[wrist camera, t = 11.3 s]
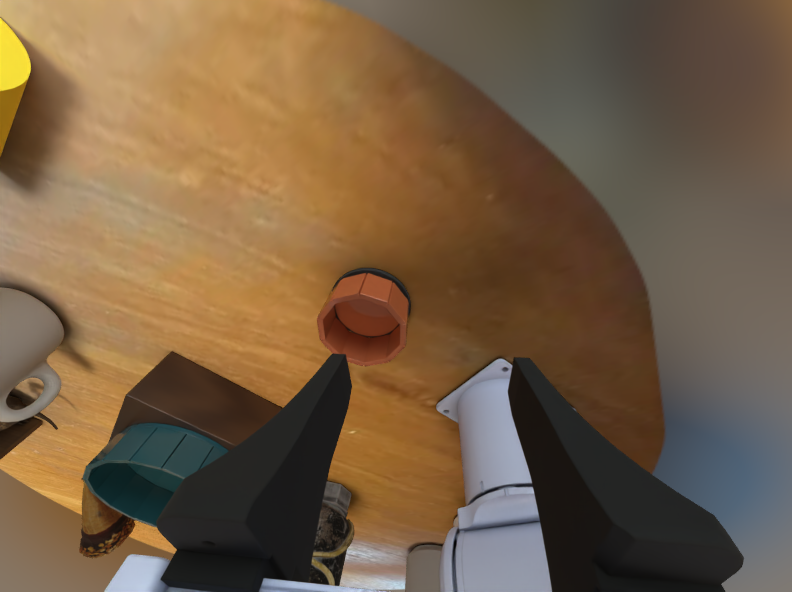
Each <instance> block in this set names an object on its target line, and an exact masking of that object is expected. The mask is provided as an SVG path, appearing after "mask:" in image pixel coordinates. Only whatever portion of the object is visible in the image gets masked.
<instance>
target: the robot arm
mask: <svg viewBox="0 0 792 592" xmlns="http://www.w3.org/2000/svg"><path fill="white" fill-rule="evenodd" d="M504 367H507V368H504ZM351 389H352V384H351V379H350V373H349V368H348V363H347V357H346V354H332V355H331V356H330V357H329V358H328V359H327V360H326V362H325V363H324V364H323V365H322V367H321V368H320V369H319V370H318V371H317V372H316V374H315V375H314V376H313V377H312V378H311V379H310V381H309V382H308V383H307V384H306V385H305V386H304V387H303V388H302V389H301V391H300V392H299V393H298V394H297V395H296V396H295V397H294V398H293V399H292V400H291V401H290V402H289V403H288V404H287V405H286V406H285V407H284V408H283V409H282V410H281V411H280V412H278V413H277V414H276V415H275V416H274V417H273V418H272V419H271V420H269V421H268V422H267V423H266V424H265V425H263V426H262V427H261V428H260V429H259V430H257V431H256V432H255V433H253V434H252V435H251V436H249V437H248V438H247V439H246V440H244V441H243V442H242V443H240V444H239V445H237V446H236V447H234V448H233V449H231V450H230V451H228V452H227V453H225V454H224V455H222V456H221V457H219V458H218V459H216V460H215V461H213V462H211V463H210V464H208V465H206V466H205V467H203V468H201V469H200V470H198V471H196V472H195V473H193V474H191V475H189V476H188V477H186V478H184V480H183V481H182V483H181V484H180V485H179V487H178V488H177V489H176V491H175V493H174V494H173V496H172V497H171V499H170V500H169V502H168V503H167V505H166V506H165V508H164V509H163V511H162V513H161V514H160V516H159V517H158V519H157V521H156V523H157V528H158V530H159V531H160V533H161V534H162V535H163V536H164V537H165V538H166V539H167V540H168V541H169V542H170V543H171V544H172V545H173V546H174V547H175V548H176V549H177V551H176V553H175V554H174V556H173V558H172V560H171V561H170V560H168V559H165V558H161V557H154V556H144V555H135V554H131V555H129V556H128V557H127V558H126V560H125V561H124V563H123V564H122V566H121V567H120V569H119V570H118V572H117V573H116V575H115V576H114V577H113V579H112V580H111V582H110V583H109V585H108V587H107V588H106V589H105V591H104V592H387V591H380V590H370V589H361V588H351V587H342V586H333V585H323V584H314V583H309V576H310V570H311V563H312V557H313V551H314V545H315V539H316V534H317V528H318V523H319V517H320V512H321V507H322V502H323V497H324V492H325V487H326V482H327V478H328V473H329V469H330V465H331V461H332V457H333V454H334V451H335V448H336V445H337V441H338V438H339V435H340V432H341V429H342V426H343V422H344V419H345V416H346V413H347V409H348V405H349V400H350V395H351ZM436 409H437V411H439V412H440V413H442V414H444V415H445V416H447V417H449V418H450V419H452V420H454V421H456V422H457V423H459V433H460V444H461V456H462V467H463V478H464V489H465V501H466V506H465V507H462V508H458V509H457V510H458V525H459V526H457V527H453V528H451V529H450V530H449V532H448V534H447V536H446V539H445V542H444V544H443V547H442V551H441V556H440V567H439V580H440V592H725V590H724V588H723V587H722V585H721V584H722V583H723V582H724V581H726V580H727V579H728V578H729V577H731V576H732V575H733V574H735V573H736V572H737V571H738V570H739V569H740V568H741V567H742V565H743V560H744V557H743V556H742V554H741V553H740V551H739V550H738V548H737V547H736V545H735V544H734V542H733V541H732V539H731V538H730V536H729V535H728V533H727V532H726V530H725V529H724V528H723V526H722V525H721V524H720V523H719V521H718V520H717V519H716V517H715V516H714V515H713V514H711V513H709V512H708V511H706V510H705V509H703V508H702V507H700V506H698V505H697V504H695V503H694V502H692V501H691V500H689V499H687V498H685V497H684V496H682V495H681V494H679V493H677V492H676V491H675V490H673V489H672V488H670V487H669V486H667V485H666V484H664V483H663V482H662V481H660V480H659V479H657V478H656V477H654V476H653V475H651V474H650V473H649V472H647V471H646V470H645V469H643V468H642V467H640V466H639V465H638V464H637V463H635V462H634V461H633V460H631V459H630V458H629V457H627V456H626V455H625V454H624V453H622V452H621V451H620V450H618V449H617V448H616V447H615V446H614V445H612V444H611V443H610V442H609V441H608V440H606V439H605V438H604V437H603V436H602V435H601V434H600V433H598V432H597V431H596V430H595V429H594V428H593V427H592V426H591V425H590V424H589V423H588V422H587V421H585V420H584V419H583V418H582V417H581V416H580V415H579V414H578V413H577V412H576V410H575V409H574V408H573V407H572V406H571V405H570V404H569V403H568V402H567V401H566V400H565V399H564V398H563V397H562V396H561V395H560V393H559V392H558V391H557V390H556V389H555V388H554V387H553V386H552V384H551V383H550V382H549V381H548V380H547V379H546V377H545V376H544V375H543V374H542V373H541V371H540V370H539V369H538V368H537V366H536V365H535V364H534V363H533V361H532V360H531V359H530V358H514V360H513V365H511V364H510V363H508V362H507V361H505V360H504V359H497V360H495V361H494V362H493V363H491V364H490V365H489V366H487V367H486V368H484V369H483V370H482V371H480V372H479V373H478V374H476V375H475V376H474V377H472V378H471V379H470V380H468V381H467V382H466V383H464V384H463V385H462V386H460V387H459V388H458V389H456V390H455V391H454V392H452V393H451V394H450V395H448V396H447V397H446V398H444V399H443V400H442V401H440V402H439V403H438V404H437V405H436ZM388 592H389V591H388Z"/></svg>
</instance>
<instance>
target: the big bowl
mask: <svg viewBox="0 0 792 592" xmlns="http://www.w3.org/2000/svg"><path fill="white" fill-rule="evenodd" d="M228 451H229V450H227V449H226V448H225V447H223V446H222V445H220V444H219V443H217V442H215V441H213V440H212V439H210V438H208V437H206V436H204V435H201V434H199V433H197V432H194V431H191V430H188V429H185V428H182V427H178V426H174V425H169V424H162V423H140V424H134V425H131V426H129V427H127V428H125V429H124V430H123V431H121V432H120V433H118V434H117V435H116V436H115V437H114V438H113V439H112V440H111V441H110V442H109V443H108V444H107V445H106V446H105V447H104V448H103V449H102V451H101V452H100V453H99V454H98V455H97V456H96V457H95V458H94V459H93V460H92V461H91V462H90V463H89V464H88V465H87V466H86V469H85V472H84V475H83V480H84V481H85V483H86V485H87V487H88V488H89V490H90V492H91V493H92V494H94V495H95V496H96V497H97V498H99V499H100V500H101V501H102V502H103V503H105V504H106V505H107V506H109V507H110V508H112V509H114V510H116V511H118V512H120V513H122V514H124V515H125V516H127V517H129V518H132V519H134V520H137V521H139V522H142V523H145V524H148V525H150V526H153V527H157V523H156V521H157V519H158V517H159V516H160V514H161V513H162V511H163V509H164V508H165V506H166V505H167V503H168V502H169V500H170V499H171V497H172V496H173V494H174V493H175V491H176V489H177V488H178V487H179V485H180V484H181V483H182V481H183V480H184V478H186V477H188V476H189V475H191V474H193V473H195V472H196V471H198V470H200V469H201V468H203V467H205V466H206V465H208V464H210V463H211V462H213V461H215V460H216V459H218V458H219V457H221V456H222V455H224V454H225V453H227V452H228Z"/></svg>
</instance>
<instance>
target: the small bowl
mask: <svg viewBox="0 0 792 592" xmlns="http://www.w3.org/2000/svg"><path fill="white" fill-rule="evenodd" d="M334 305H335V306H334ZM335 309H336V313H337V316H338V317H339V319H340V321H341V322H342V323H343V324H344V325H345V326H346V327H347V328H348V329H350V330H351V331H353V332H355V333H358V334H361V335H358V334H355V333H352V332H349V331H348V329H347V328H346V327H345V326H344V325H343V324H342V323H341V322H340V321H339V320H338V319H337V318H336V315H335ZM408 312H409V302H408V300H407V298H406V297H405V296H404V295H403V293H402V292H401V291H400V290H399V288H398V287H397V286H396V284H395V283H394V282H393V283H392V281H390V280H387V279H384V278H381V277H378V276H376V275H373V274H370V273H367V274H366V273H363V274H359V275H355V276H351V277H347V278H343V279H342V280H340V281H339V283H338V284H337V285H336V287H335V288H334V289H333V291H332V292H331V293H330V295H329V296H328V298H327V300H326V302H325V304H324V306H323V307H322V309H321V311H320V313H319V315H318V317H317V323H318V330H319V336H320V340H321V342H322V343H323V344H324V345H325V346H326V347H327V348H328V349H329V350H330V351H331V352H332V353H333V354H346V357H347V362H350V363H354V364H357V365H360V366H363V365H364V366H371V365H377V364H383V363H388V361H389V362H390V361H391V360H392V359H393V358H394V357H395V356H396V355H397V354H398V353H399V352H400V351H402V350H403V349H404V348H405V346H406V338H407V328H408ZM398 324H400V325H399V326H398ZM397 326H398V327H397ZM396 327H397V328H396ZM395 328H396V329H395ZM394 329H395V330H394ZM392 330H394V331H393V332H392V333H391V334H389V335H384V334H387V333H389V332H391V331H392ZM362 335H365V336H379V337H373V338H368V337H365V336H362ZM380 335H384V336H380Z"/></svg>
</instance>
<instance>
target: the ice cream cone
mask: <svg viewBox="0 0 792 592" xmlns="http://www.w3.org/2000/svg"><path fill="white" fill-rule="evenodd" d="M81 480H83V478H82V479H81ZM83 482H84V488H83V498H82V530H81V533H82V538H81V543H80V548H79V552H80V553H81V554H83V555H84V556H86V557H90V558H98V557H101V556H104V555H107V554H109V553H111V552H113V551H114V550H115V549H116V548H118V547H119V546H120V545H121V544H122V543H123V542H124V541H125V539H126V538H127V537H128V536H129V535H130V534H131V532H132V531H133V528H134V526H135V523H134V519H132V518H129V517H127V516H125V515H124V514H122V513H120V512H118V511H116V510H114V509H112V508H110V507H109V506H107V505H106V504H105V503H103V502H102V501H101V500H100V499H99V498H97V497H96V496H95V495H94V494H92V493H91V492H90V490H89V488H88V487H87V485H86V483H85V481H84V480H83Z"/></svg>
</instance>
